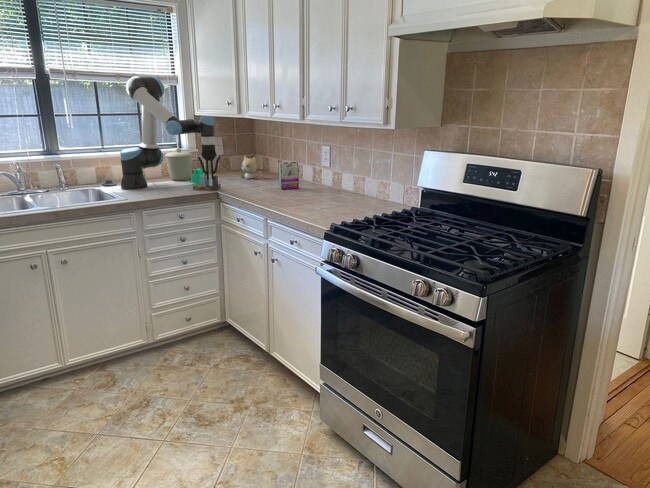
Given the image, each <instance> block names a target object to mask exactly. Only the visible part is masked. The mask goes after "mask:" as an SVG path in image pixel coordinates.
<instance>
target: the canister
mask: <svg viewBox="0 0 650 488" xmlns="http://www.w3.org/2000/svg"><path fill="white" fill-rule="evenodd" d="M193 156H194V153H192V152H190V151H182V148H181V147H176V148H175V151H172V152H171V151H170V152H167V153H166V154H163V157H165V159H166V160H165V161H166V166H167V171H168V174H169V178H170V179H171V180H172V181H176V182H177V181H178V182H180V181H181V182H182V181H188V180H191V178H192V174H193V173H192V171H193V169H192V168H193Z"/></svg>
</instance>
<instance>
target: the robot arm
mask: <svg viewBox="0 0 650 488" xmlns="http://www.w3.org/2000/svg"><path fill="white" fill-rule="evenodd" d="M125 90H126V92H127V94H128V96H129V97H130V99H132V100H133V101H134V102H135V103H139V104H140V105H141V143H140V144H139V147H128V148H125V149H122V150H120V157H119V158H120V163H121V172H122V177H121V181H120V182H121V183H120V188H121V190H128V191H131V190H143V189H147V188H148V182H147V180H146V178H145V175H144V169H151V168H156V167H158V166H161V165H162V162H163V161H164V154H163V152H162V150H161V148H160V145H159V144H158V143H157V140H158V139H157V138H158V137H157V136H158V134H157V133H158V131H157V128H158V127H157V126H158V124H157V123H158V121H160V122H161V123H162V124H163V125H164V126H165V130H166V132H167V133H168V134H169V135H173V136H179V135H187V134H188V135H189V134H200V141H201V153H200V155H199V156H197V159H198V161H199V163H200V167H201V169H202V170H203V174H204V173H205V174H207V180H209V186H212V180H213V179H214V176H215V174H216V173H218V172H217V170H218V166H219V161H220V159H221V156H219V155H218V154H217V152H216V145H215V144H216V140H215V139H216V136H215V123H214V120H215V119H214V117H213V116H211V115H210V116H207V115H203V116H199V119H192V118H190V119H189V118H188V119H179V118H178V117H176V115H174V114H173V113H172V112H171V111H170V110H169V109H168V108H167V107H165V106H164V105H163V104H162V103H161V99H160V98H162V97H163V95H164V93H165V88H164V84H163V83H162V81H161V80H160V79H159V77H158V78H157V77H155V76H132V77H131V78H129V79H128V80H127V82H126V86H125ZM203 159H204V160H205V165H204V162H203ZM214 159H216V162H215V164H214V163H213V162H214ZM209 161H210V173H209ZM214 165H215V167H214Z"/></svg>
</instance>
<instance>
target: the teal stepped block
mask: <svg viewBox="0 0 650 488" xmlns="http://www.w3.org/2000/svg"><path fill="white" fill-rule="evenodd" d="M213 176H214V179H213V180H212V186H215V187H216V186H218V184H219V177H218V175H216V174H214V175H213ZM199 181H200V185H203V186H209V180H207V176H204V174H203V175H200V176H199Z"/></svg>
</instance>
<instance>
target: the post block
mask: <svg viewBox="0 0 650 488" xmlns="http://www.w3.org/2000/svg"><path fill="white" fill-rule="evenodd" d="M203 175H204V176H207V174H205V173H203ZM221 185H222V184H220V183H218V186H216V187H215V186H203V185H200V184H197V185H195V184H194V186H192V191H212V192H213V191H214V192H215V191H217V190H219V189H221V188H222V186H221Z"/></svg>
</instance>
